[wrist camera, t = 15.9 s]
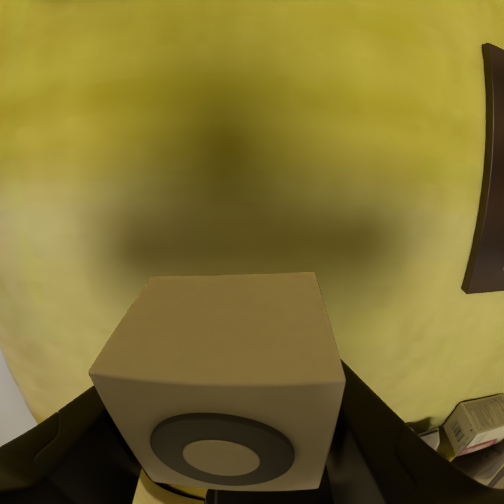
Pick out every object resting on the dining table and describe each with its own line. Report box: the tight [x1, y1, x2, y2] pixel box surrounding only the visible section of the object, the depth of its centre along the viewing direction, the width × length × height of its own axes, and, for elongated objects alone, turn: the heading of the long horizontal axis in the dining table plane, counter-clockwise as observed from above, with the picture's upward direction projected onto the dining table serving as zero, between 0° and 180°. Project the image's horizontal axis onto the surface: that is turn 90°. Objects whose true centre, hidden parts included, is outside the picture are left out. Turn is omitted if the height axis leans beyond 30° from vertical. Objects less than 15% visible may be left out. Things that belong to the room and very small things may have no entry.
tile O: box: [89, 272, 346, 491], centre depth 7 cm, size 4×4×4 cm
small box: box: [443, 394, 504, 457], centre depth 23 cm, size 5×4×8 cm
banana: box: [132, 469, 204, 504], centre depth 30 cm, size 14×6×20 cm
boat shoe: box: [451, 439, 504, 489], centre depth 20 cm, size 11×29×11 cm
